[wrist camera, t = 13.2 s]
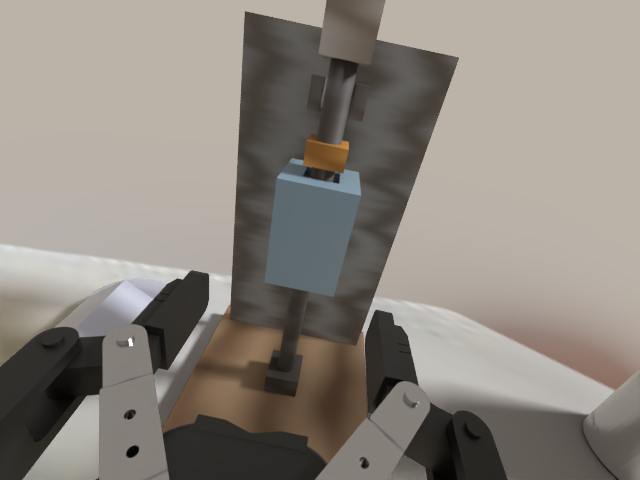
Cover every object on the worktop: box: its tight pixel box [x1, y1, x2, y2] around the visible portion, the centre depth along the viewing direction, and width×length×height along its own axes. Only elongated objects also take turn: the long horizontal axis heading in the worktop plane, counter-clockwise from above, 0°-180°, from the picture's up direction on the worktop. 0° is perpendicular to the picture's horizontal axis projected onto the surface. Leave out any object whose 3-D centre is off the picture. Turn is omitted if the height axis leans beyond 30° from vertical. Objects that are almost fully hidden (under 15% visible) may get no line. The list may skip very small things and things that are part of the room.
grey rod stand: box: [162, 0, 459, 463], centre depth 24 cm, size 18×16×35 cm
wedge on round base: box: [54, 279, 166, 337], centre depth 32 cm, size 9×7×13 cm
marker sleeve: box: [265, 158, 361, 297], centre depth 22 cm, size 5×5×8 cm
